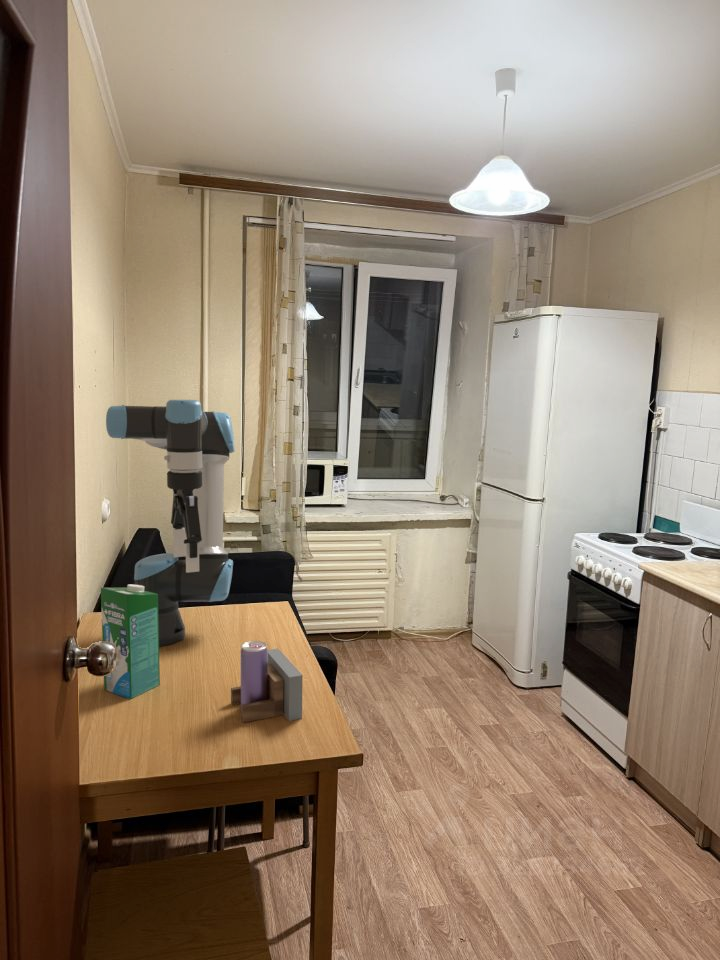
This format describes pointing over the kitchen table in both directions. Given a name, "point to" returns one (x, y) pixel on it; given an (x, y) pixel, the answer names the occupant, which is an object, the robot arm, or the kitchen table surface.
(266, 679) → the beverage can
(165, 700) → the kitchen table surface
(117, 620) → the milk carton
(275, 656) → the backstop
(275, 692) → the bracket
